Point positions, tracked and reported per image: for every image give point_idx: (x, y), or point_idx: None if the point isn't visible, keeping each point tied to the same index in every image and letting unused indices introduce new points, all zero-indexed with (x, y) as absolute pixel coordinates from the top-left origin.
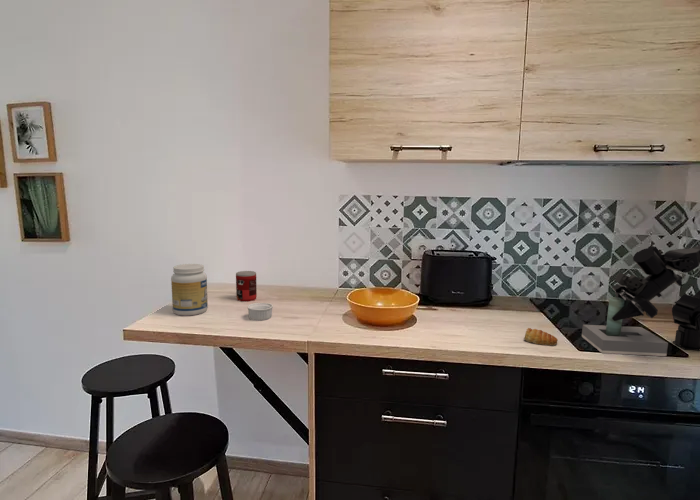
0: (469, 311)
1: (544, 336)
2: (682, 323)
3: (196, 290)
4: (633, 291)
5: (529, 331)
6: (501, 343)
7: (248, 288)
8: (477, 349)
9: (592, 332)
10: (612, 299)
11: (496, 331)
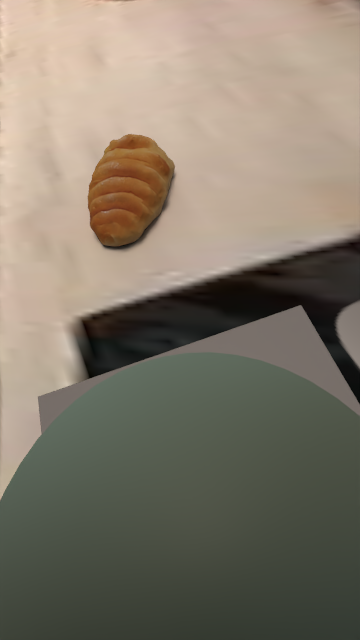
0: (344, 23)
1: (98, 192)
2: None
3: None
4: None
5: (116, 146)
6: (72, 132)
7: None
8: (12, 106)
9: (173, 351)
10: (77, 414)
11: (175, 105)
